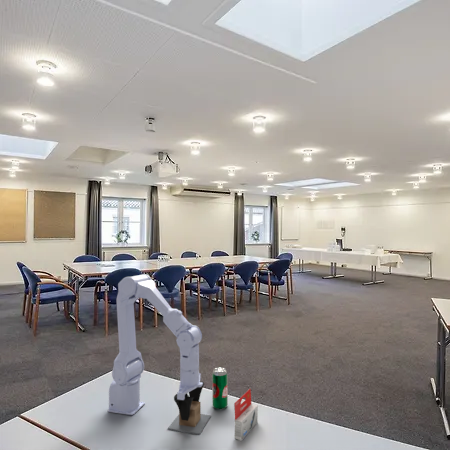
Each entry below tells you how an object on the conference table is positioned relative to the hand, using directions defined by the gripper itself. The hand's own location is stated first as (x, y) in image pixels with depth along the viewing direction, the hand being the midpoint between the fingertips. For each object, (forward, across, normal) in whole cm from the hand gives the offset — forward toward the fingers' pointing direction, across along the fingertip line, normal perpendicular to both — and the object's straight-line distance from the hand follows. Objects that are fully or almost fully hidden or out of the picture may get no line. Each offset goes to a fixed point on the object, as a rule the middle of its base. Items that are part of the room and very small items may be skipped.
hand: (189, 413), depth 102 cm
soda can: (+3, +12, -6) cm, 14 cm away
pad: (+3, 0, 0) cm, 3 cm away
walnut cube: (+2, 0, 0) cm, 2 cm away
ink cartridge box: (+3, +1, -17) cm, 18 cm away
